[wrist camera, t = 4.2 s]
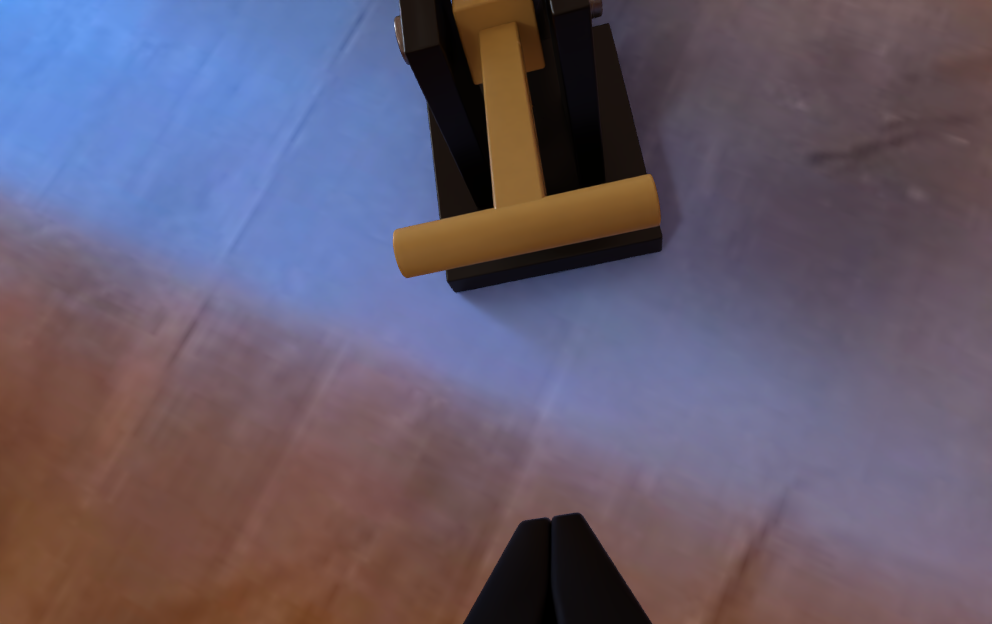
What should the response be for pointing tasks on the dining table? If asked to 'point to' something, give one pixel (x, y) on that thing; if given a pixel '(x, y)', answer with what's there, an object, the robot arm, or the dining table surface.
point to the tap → (558, 120)
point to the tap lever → (517, 162)
